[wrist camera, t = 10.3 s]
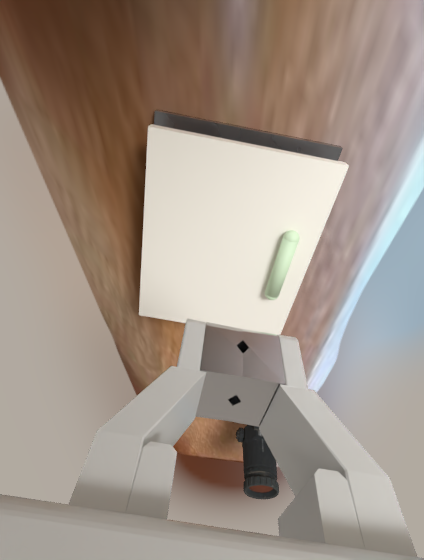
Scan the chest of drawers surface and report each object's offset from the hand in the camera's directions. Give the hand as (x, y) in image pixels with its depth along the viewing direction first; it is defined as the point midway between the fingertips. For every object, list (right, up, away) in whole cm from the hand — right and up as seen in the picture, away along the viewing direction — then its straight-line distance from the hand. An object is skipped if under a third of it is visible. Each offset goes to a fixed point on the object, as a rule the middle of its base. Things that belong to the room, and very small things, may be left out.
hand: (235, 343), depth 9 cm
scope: (+8, -22, +51) cm, 56 cm away
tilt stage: (+1, +5, +26) cm, 26 cm away
